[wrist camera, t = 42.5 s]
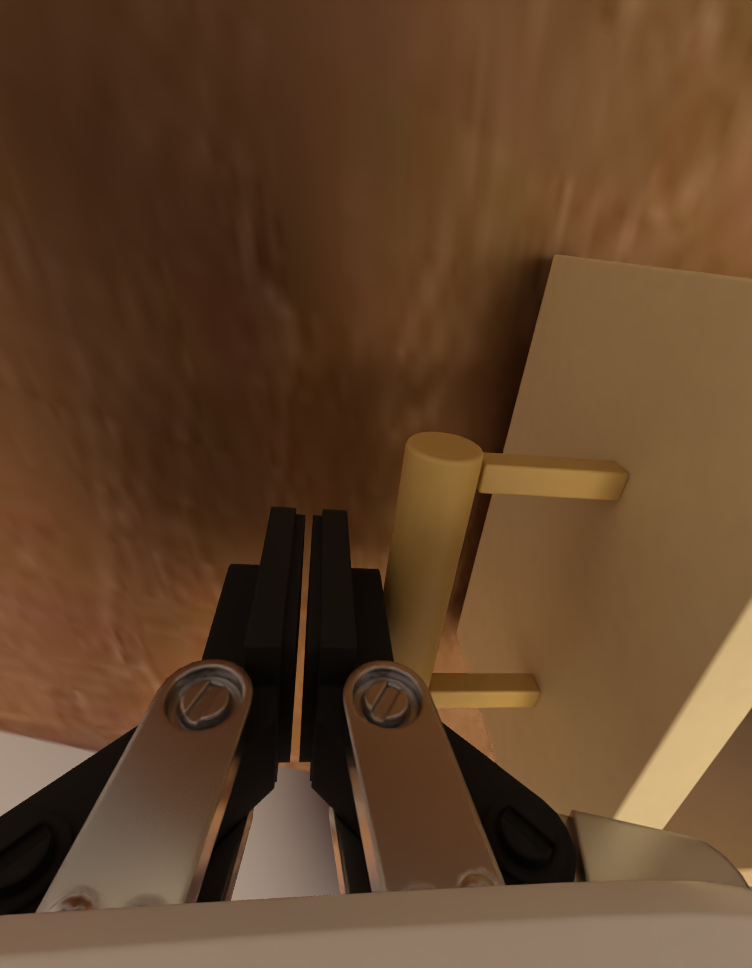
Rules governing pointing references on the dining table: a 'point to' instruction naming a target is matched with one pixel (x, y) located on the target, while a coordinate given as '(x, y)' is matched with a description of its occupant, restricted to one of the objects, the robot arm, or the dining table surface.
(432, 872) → the robot arm
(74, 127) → the dining table surface
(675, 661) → the drawer
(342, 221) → the dining table surface
